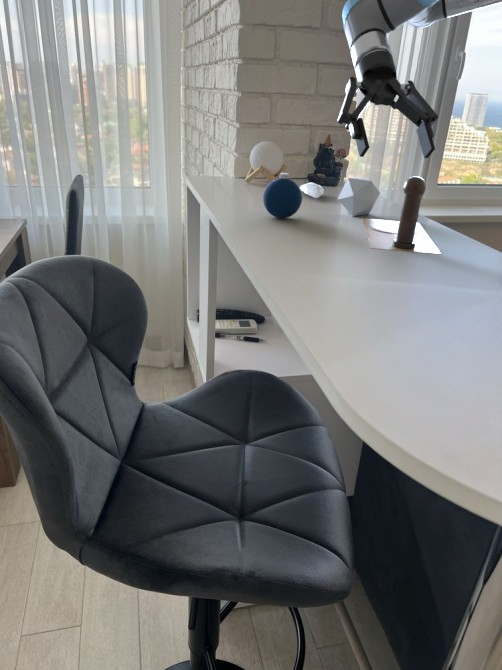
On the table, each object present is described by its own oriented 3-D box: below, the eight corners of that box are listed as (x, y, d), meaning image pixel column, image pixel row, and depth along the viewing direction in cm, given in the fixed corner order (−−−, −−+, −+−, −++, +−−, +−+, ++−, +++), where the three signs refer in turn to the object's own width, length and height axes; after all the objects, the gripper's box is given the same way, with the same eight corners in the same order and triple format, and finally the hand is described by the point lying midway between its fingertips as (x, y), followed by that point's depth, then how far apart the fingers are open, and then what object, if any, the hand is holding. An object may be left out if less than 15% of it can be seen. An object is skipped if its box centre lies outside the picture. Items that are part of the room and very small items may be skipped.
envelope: (418, 224, 112) (419, 221, 111) (441, 256, 90) (442, 253, 90) (361, 219, 113) (361, 217, 113) (370, 250, 91) (371, 247, 91)
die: (379, 222, 114) (391, 182, 116) (352, 203, 110) (365, 162, 111) (352, 227, 122) (364, 189, 123) (326, 209, 117) (338, 171, 118)
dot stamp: (412, 244, 95) (426, 175, 89) (416, 250, 91) (430, 179, 86) (391, 242, 95) (403, 174, 90) (393, 248, 92) (406, 177, 86)
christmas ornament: (308, 219, 110) (312, 172, 106) (279, 224, 105) (283, 174, 101) (282, 211, 116) (285, 166, 112) (254, 215, 111) (256, 168, 107)
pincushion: (327, 200, 130) (330, 178, 128) (304, 199, 130) (306, 177, 127) (317, 191, 141) (319, 170, 138) (295, 191, 140) (297, 169, 138)
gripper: (419, 82, 107) (444, 166, 101) (309, 75, 101) (328, 164, 95) (438, 52, 101) (467, 141, 94) (321, 43, 95) (343, 137, 88)
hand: (397, 153), depth 95 cm, fingers open, 13 cm apart
